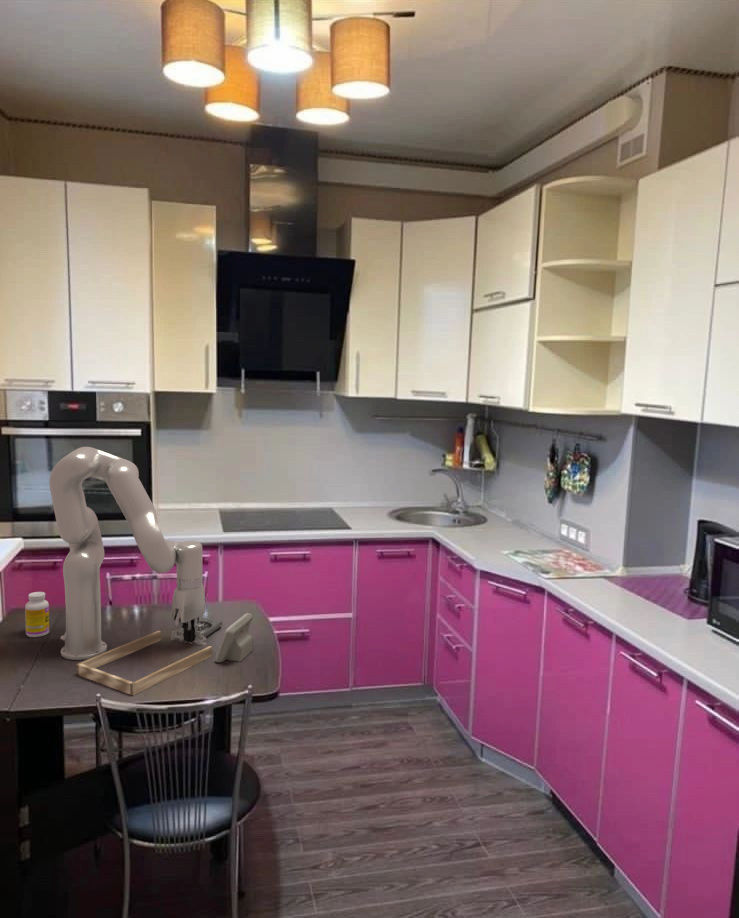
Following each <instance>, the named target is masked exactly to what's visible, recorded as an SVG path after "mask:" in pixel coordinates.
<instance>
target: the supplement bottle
mask: <svg viewBox="0 0 739 918" xmlns="http://www.w3.org/2000/svg"><path fill="white" fill-rule="evenodd" d="M45 598H46V592H44V591H35V592H30V593H28V602H26V603H25V605H24V608H25V610H24V611H25V613H24V614H25V634H26V636H27V637H29V638H40V637H43V636H46V635H48V634H49V633H50V604H49V603H50V602H48V600H46V599H45Z"/></svg>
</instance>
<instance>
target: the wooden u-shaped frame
mask: <svg viewBox="0 0 739 918" xmlns="http://www.w3.org/2000/svg"><path fill="white" fill-rule="evenodd" d="M161 641H162V631H161V630H157V631H154V632H152V633H149V634H146V635H145V636H144V635H143V636H141V637H139V638H137V639H135V640H132V641H130V642H128V643H125V644H121V645H120V646H117V647H115V648H113V649H109V650H108V651H107V650H106V651H105V652H104V653H102V654H100V655H98V656H95V657H93V658H90V659H84V661H81V662H78V663H76V665H75V666H76V668H75V669H76V672H75V673H76V676H78V677H81V678H84V679H87V680H89V681H92V680H93V681H92V682H95V681H96V683H98V684H100V683H101V685H103V686H106V687H109V688H111V689H114V690H116V691H120V692H122V693H125V694H127V695H130V696H135V695H138V694H140V693H141V692H143V691H145V690H147V689H149V688H152V687H153V685H154V686H155V684H156V685H158V684H160V683H162V682H164V681H165V680H168V679H169V678H172V677H174V676H175V675H178V674H179V673H182V672H183V671H186V670H188V669H189V668H191V667H194V666H195V665H197V664H200V663H202V662H203V660H204V661H206V660H207V659H210V658H211V657H213V646H211V645H209V646H206V647H204V648H202V649H200V650H198V651H196V652H193V653H191V654H190V655H187V656H186V657H183V658H181V659H179V660H177V661H175V662H172V663H171V664H169V665H167V666H165V667H162V668H160V669H158V670H156V671H154V672H151V673H150V674H148V675H146V676H143V677H142V678H139V679H137V680H135V681H132V680H129V679H125V678H122V677H120V676H118V675H114V674H111V673H109V672H106V671H104V670H100V669H98V668H100V667H102V666H105V665H108V664H110V663H111V662H114V661H117V660H118V659H121V658H123V657H125V656H128V655H130V654H133V653H135V652H138V651H141V650H143V649H144V648H146V647H150V646H151V645H154V644H156V643H158V642H161Z"/></svg>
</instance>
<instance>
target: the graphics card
mask: <svg viewBox="0 0 739 918" xmlns="http://www.w3.org/2000/svg"><path fill="white" fill-rule="evenodd" d="M222 625H223V620H217V619H214V618H204V616H203V617H202V618H201V619H200V620H199V621H198V622H197V627H196V628H195V641H193V642H191V643H192V644H191V643H190V642H189V643H188V642H187V641H184V629H183V628H182V627H180V628H179V629H175V630H172V631H171V635H170V641H171V642H172V641H178V642H181V643H183V642H184V644H187V643H188V644H191V645H195V644H197V645H200V644H203V645H202V646H207V642H205V641H207V637H208V636H209V635H211V634H212V633H214V632H215V631H216V630H218V629H220V627H221V626H222Z"/></svg>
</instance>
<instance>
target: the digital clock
mask: <svg viewBox="0 0 739 918" xmlns="http://www.w3.org/2000/svg"><path fill="white" fill-rule="evenodd" d="M253 618H254V616H253V614H252V613H250V612H247V613H244V614H243V615H242V616H240V617H239V618H238V619H236V621H234V622H233V623H232V624H231V625H229V626H228V627H227V628H226V629H225V631H224V633H223V636H222V638H221V641H220V643H219V646H218V649H217V652H216V654H215V656H214V659H215V662H216V663H223V662H224V661H225V660H227V661H234V662H242V661H243V660H244V659H245V658H246V657H247V656H248V655H249V654H250V653H251V652H252V651H253V650H254V636H253V634H251V633H250V631H249V629H250V626H251V625H252V624H251V623H252V621H253Z"/></svg>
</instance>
